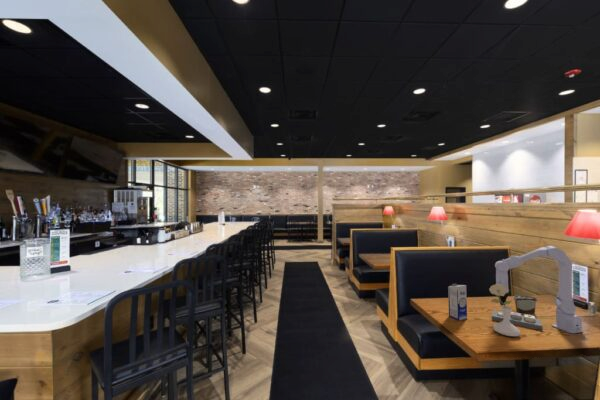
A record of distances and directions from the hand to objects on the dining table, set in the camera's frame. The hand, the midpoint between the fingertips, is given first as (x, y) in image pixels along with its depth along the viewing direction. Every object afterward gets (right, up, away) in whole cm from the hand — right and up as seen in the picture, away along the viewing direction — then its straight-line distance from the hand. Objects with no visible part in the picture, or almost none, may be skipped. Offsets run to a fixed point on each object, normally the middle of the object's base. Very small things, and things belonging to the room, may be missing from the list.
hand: (502, 305), depth 161 cm
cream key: (+9, -6, -8) cm, 13 cm away
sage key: (0, -8, 0) cm, 8 cm away
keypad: (+5, -8, -4) cm, 10 cm away
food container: (+19, -8, +9) cm, 23 cm away
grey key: (+5, -6, -4) cm, 8 cm away
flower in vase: (-12, -8, -17) cm, 23 cm away
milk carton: (-25, -9, +2) cm, 27 cm away
